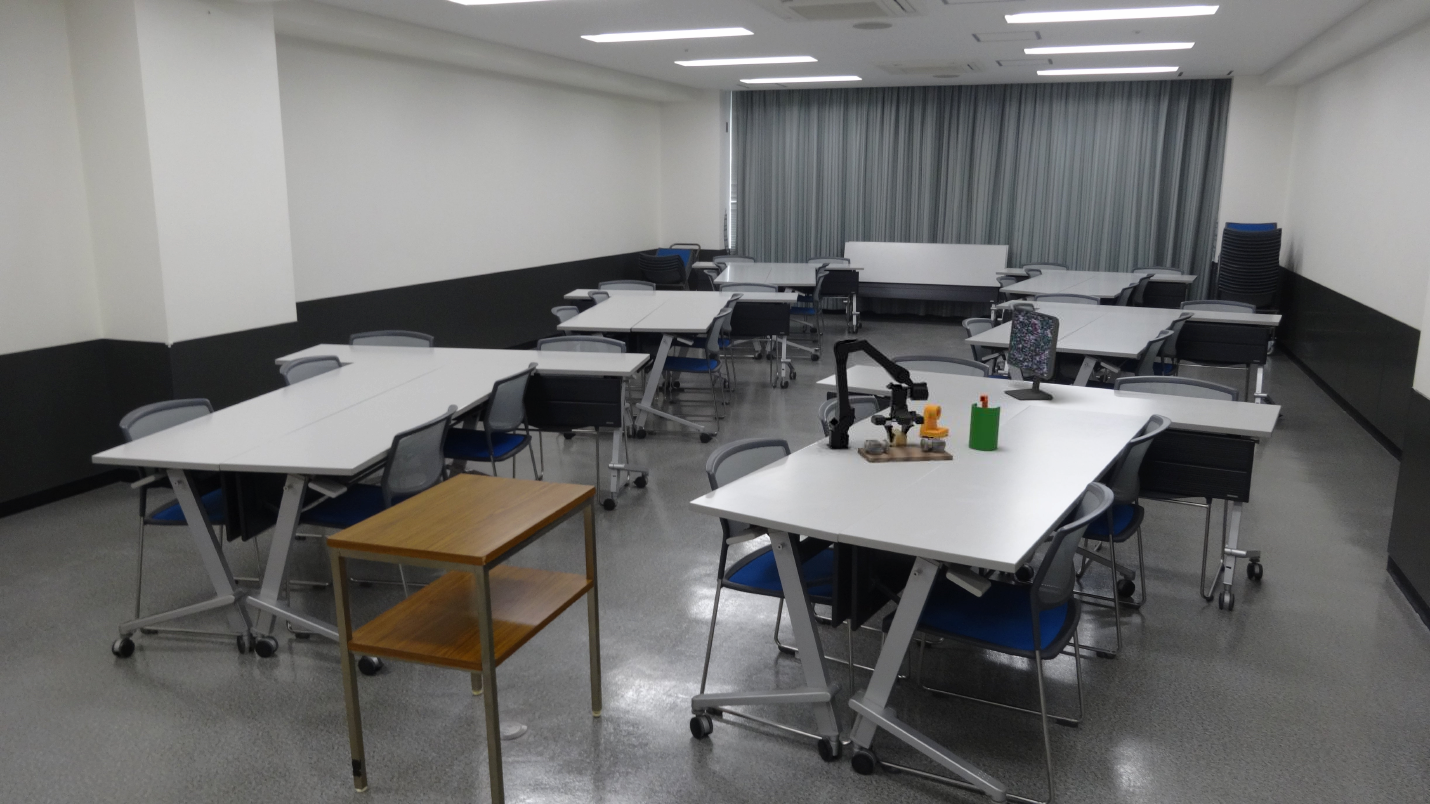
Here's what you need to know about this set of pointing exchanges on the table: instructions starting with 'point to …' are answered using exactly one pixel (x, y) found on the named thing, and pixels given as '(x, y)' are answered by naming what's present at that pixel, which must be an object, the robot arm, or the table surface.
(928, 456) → the shaft mount
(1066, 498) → the table surface
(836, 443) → the robot arm
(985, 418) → the green tall cylinder
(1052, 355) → the computer monitor
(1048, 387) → the table surface
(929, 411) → the bracket
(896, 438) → the block
